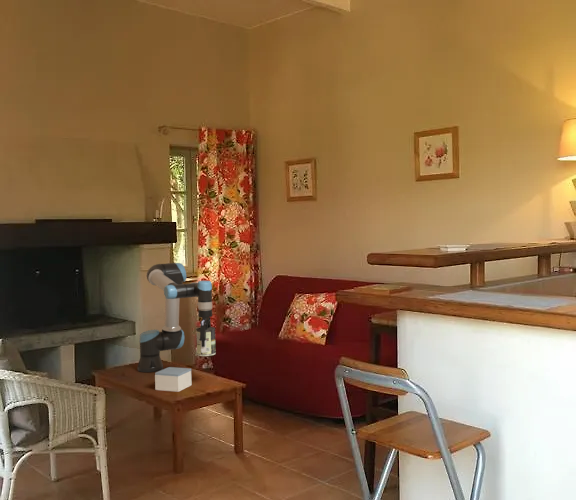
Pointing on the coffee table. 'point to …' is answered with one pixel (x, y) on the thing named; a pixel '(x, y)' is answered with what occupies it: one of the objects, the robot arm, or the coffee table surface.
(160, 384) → the box
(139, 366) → the robot arm
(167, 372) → the lid
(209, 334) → the coffee can
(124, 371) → the coffee table surface
